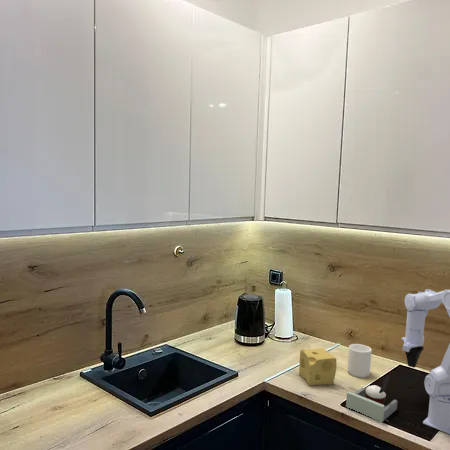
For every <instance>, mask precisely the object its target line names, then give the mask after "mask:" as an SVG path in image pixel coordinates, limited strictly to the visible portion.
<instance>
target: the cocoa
mask: <svg viewBox="0 0 450 450" xmlns="http://www.w3.org/2000/svg"><path fill="white" fill-rule="evenodd" d="M390 378H391V374H389V375H385V378H384V380H383V382H382V384H381V387H380V386H378V385H375V384H374V385H373V384H372V385H368V386H367V387H366V388H365V398H367V399H370V400H372V401H375V402H377V403H380V404H382V405H384V404H385V400H386V396H387V393H386V392H385V389H386V387H387V384H388V382H389V380H390Z"/></svg>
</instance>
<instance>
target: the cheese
mask: <svg viewBox="0 0 450 450" xmlns="http://www.w3.org/2000/svg"><path fill="white" fill-rule="evenodd" d="M298 368H299V369H298V371H299V373H298V374H299V375H300V376H301V377H302V378H303V379H305V383H306V384H307V385H308V386H309V387H310V386H312V387H313V386H318V385H319V386H321V385H322V386H323V385H333V384H334V382H335V378H336V372H337V357H335V356H334V355H332V354H331V353H330V352H328V351H327V349H325V348H309V349H308V348H307V349H304V348H303V349H300V351H299V367H298Z"/></svg>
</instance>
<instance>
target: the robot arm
mask: <svg viewBox="0 0 450 450" xmlns="http://www.w3.org/2000/svg"><path fill="white" fill-rule="evenodd" d="M441 304H442V305H443V306H444V307H445V310H446V312H447V314H448V317H449V318H450V289H444V290H441V291H435V290H432V289H429V288H427V289H425V290H424V292H423V291H418V292H417V293H410V292H409V293H407V294H406V295H405V297H404V306H405V308H406V310H407V311H406V323H405V324H406V325H405V336H403V337H401V341H403V344H402V349H401V350H402V351H403V352H404V353H405V356H406V362H407V366H408V367H410V368H413V369H414V368H416V366H417V364H418V361H419V358H420V356H421V353H422V352H423V350H424V345H425V344H424V343H425V336H424V334H425V323H426V317H427V316H428V312H429V310H434V309H437V308H439V307H440V305H441ZM423 384H424V388H425V391H426V393H427V394H428V395H429V404H428V414H427V417H426V418H425V419H424V420H423V421H422V424H423V425H426V426H428V427H430V428H434V429H436V430H439V431H441V432H444V433H445V434H448V435H450V343H449V344H448V346H447V349H446V351H445V353H444V356H443V358H442V360H441V363H440V365H438V366H436V367H435V368H432V369H430V371H429V374H427V375H426V376H425V378H424V382H423Z"/></svg>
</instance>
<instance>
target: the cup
mask: <svg viewBox="0 0 450 450" xmlns="http://www.w3.org/2000/svg"><path fill="white" fill-rule="evenodd" d="M371 363H372V348H371V347H370V346H367V345H365V344H362V343H361V344H360V343H352V344H350V345H348V359H347V373H348V374H349V375H351V376H353V377H355V378H360V379H361V378H368V377H369V376H370V374H371Z"/></svg>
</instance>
